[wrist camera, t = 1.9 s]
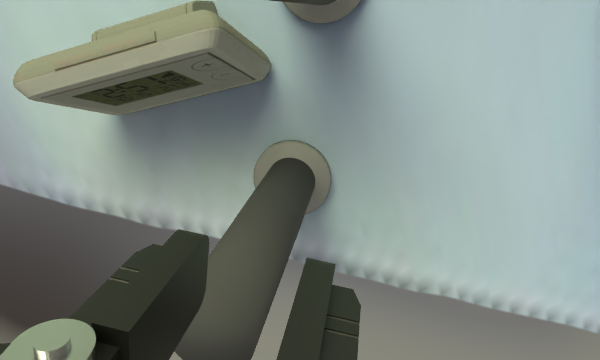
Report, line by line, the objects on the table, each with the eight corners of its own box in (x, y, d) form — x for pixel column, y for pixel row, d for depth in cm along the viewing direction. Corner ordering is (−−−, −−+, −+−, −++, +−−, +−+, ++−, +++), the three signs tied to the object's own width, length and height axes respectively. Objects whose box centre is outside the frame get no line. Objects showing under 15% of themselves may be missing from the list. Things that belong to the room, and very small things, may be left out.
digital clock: (110, 112, 40) (23, 144, 30) (88, 9, 37) (-17, 8, 27) (277, 109, 37) (241, 144, 27) (269, -3, 34) (225, -8, 24)
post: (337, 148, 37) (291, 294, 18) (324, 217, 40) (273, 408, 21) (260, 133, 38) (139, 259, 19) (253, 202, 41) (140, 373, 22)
